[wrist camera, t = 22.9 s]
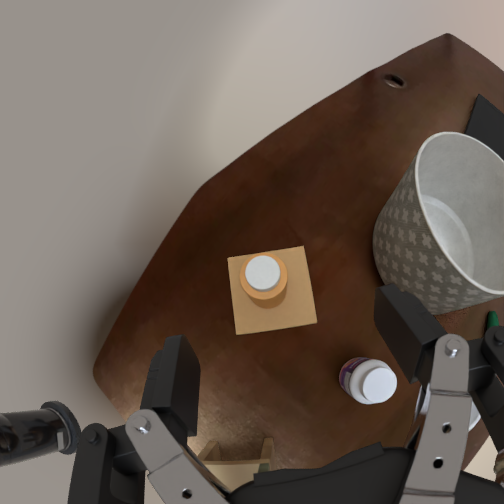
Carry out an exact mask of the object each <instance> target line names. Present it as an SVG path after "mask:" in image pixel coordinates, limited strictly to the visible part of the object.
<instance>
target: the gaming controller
mask: <svg viewBox="0 0 504 504" xmlns="http://www.w3.org/2000/svg"><path fill="white" fill-rule="evenodd" d="M492 326H499V322H498V317H497V314H496V312H495V311H491V312H489V315H488V323H487V330H488V329H489V328H490V327H492Z"/></svg>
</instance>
